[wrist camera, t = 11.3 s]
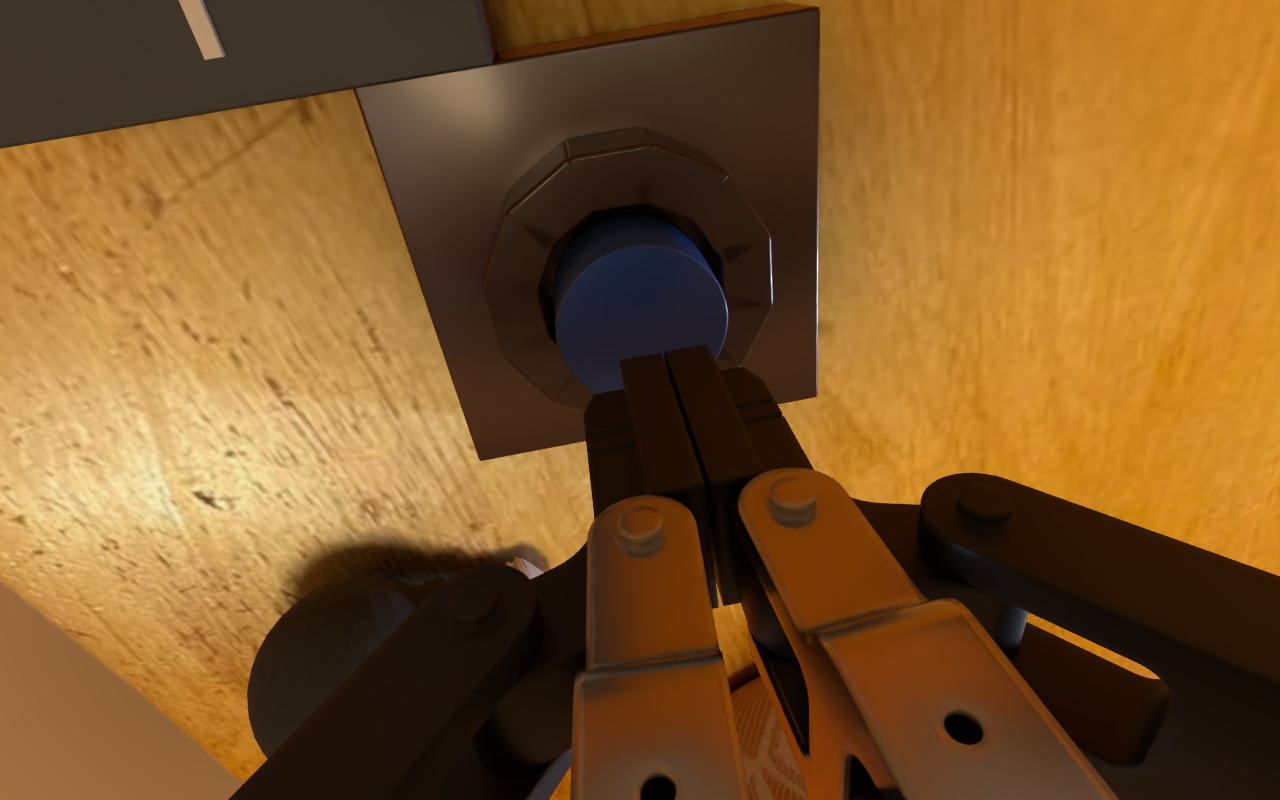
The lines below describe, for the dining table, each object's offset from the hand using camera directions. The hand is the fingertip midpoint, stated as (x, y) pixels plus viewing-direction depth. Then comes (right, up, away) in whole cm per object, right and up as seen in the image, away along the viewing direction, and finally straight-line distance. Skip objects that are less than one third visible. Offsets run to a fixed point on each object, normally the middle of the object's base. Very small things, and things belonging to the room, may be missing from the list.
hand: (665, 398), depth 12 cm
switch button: (-1, +2, +4) cm, 5 cm away
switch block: (-1, +4, +7) cm, 8 cm away
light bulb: (-9, -7, +13) cm, 17 cm away
